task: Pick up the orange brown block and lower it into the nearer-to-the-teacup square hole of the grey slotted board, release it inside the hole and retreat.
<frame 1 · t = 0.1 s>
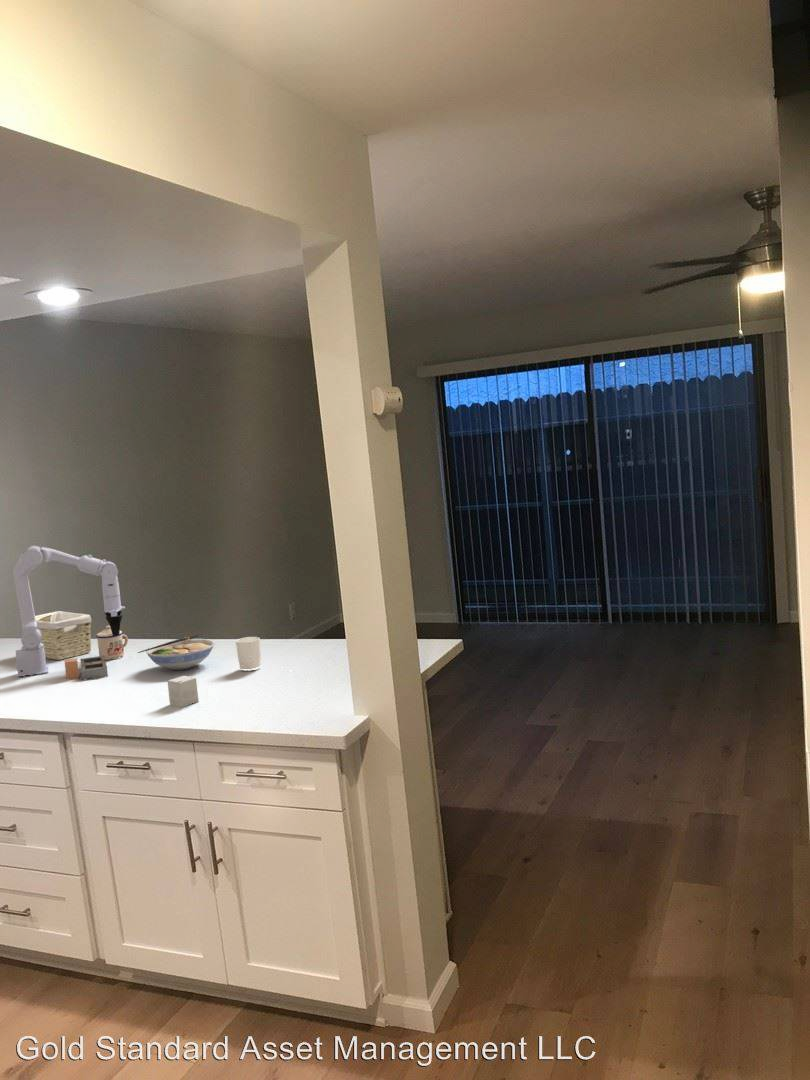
hand: (115, 633, 324), 10 cm above the counter, tool pointing down, fingers open, 7 cm apart
orange brown block: (72, 677, 305), on the counter
white cup: (250, 669, 299), on the counter
teacup with lid: (115, 656, 333), on the counter
skincare box: (184, 704, 264), on the counter
ramen bowl: (182, 668, 308), on the counter
grey slotted board: (94, 671, 311), on the counter
storage basket: (60, 654, 344), on the counter
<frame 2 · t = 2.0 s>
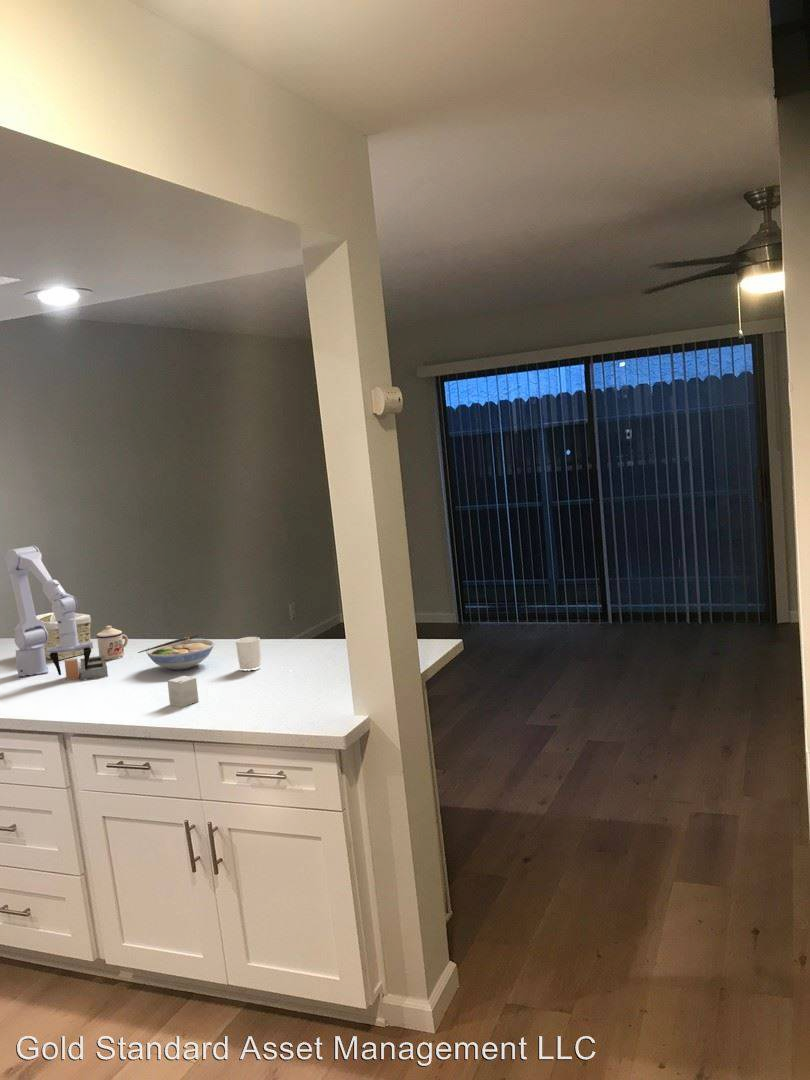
hand: (73, 672, 305), 2 cm above the counter, tool pointing down, fingers open, 7 cm apart
nothing on the counter moved.
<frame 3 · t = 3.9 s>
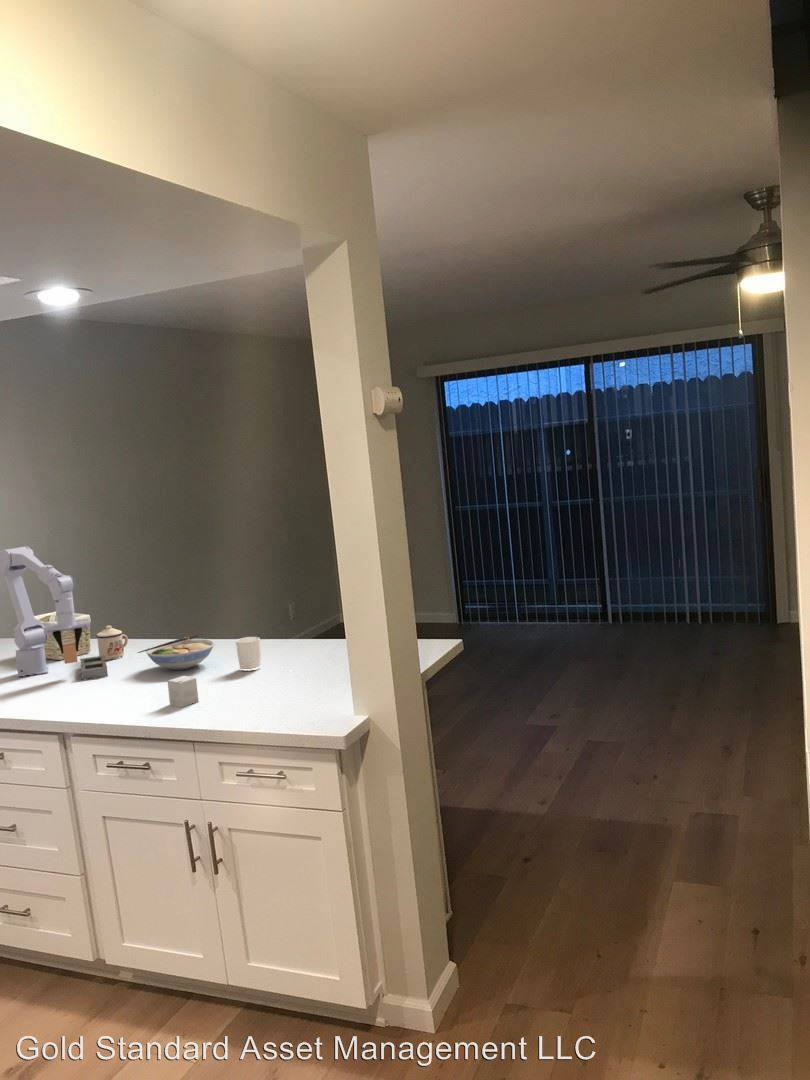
hand: (69, 651, 304), 9 cm above the counter, tool pointing down, fingers closed on orange brown block, 4 cm apart
orange brown block: (71, 661, 305), point 5 cm above the counter, touching gripper
everything else where it was.
when the fingers open (4 cm above the counter, at t = 6.4 s): orange brown block stays where it is, resting in grey slotted board.
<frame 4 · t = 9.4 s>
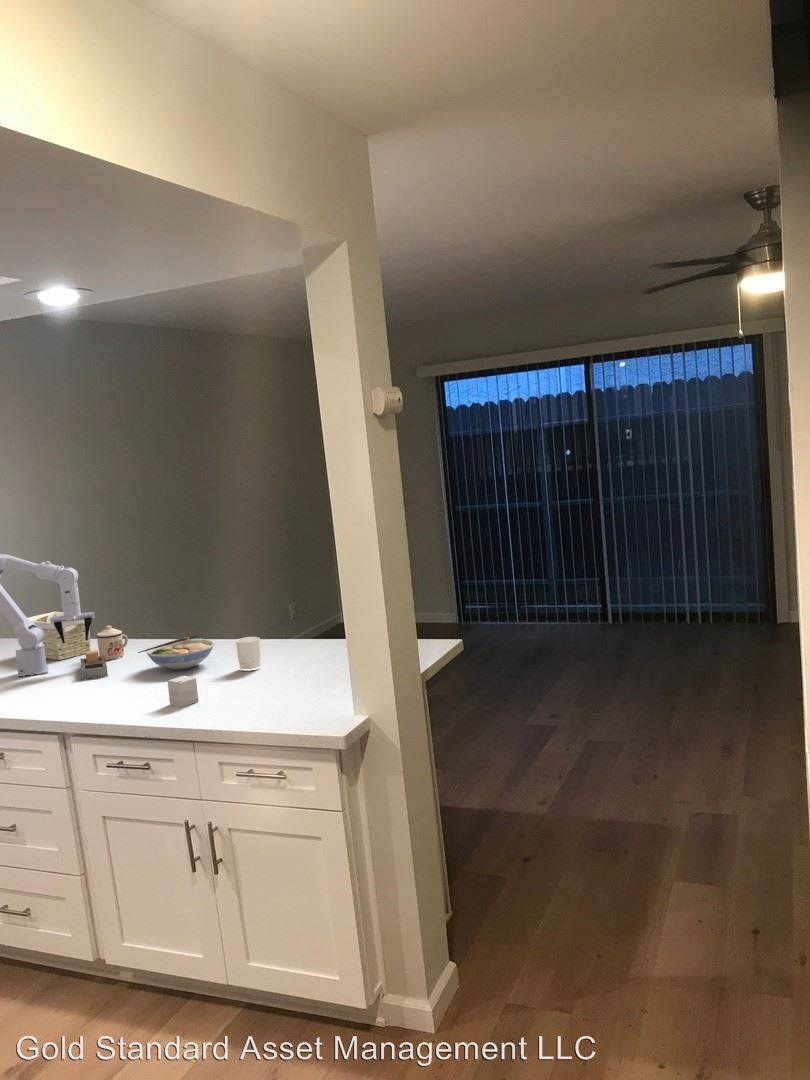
hand: (75, 641, 316), 10 cm above the counter, tool pointing down, fingers open, 7 cm apart
orange brown block: (93, 668, 316), resting in grey slotted board
at the end: orange brown block 0.1 cm from the target spot, resting in grey slotted board; the gripper is holding nothing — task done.
